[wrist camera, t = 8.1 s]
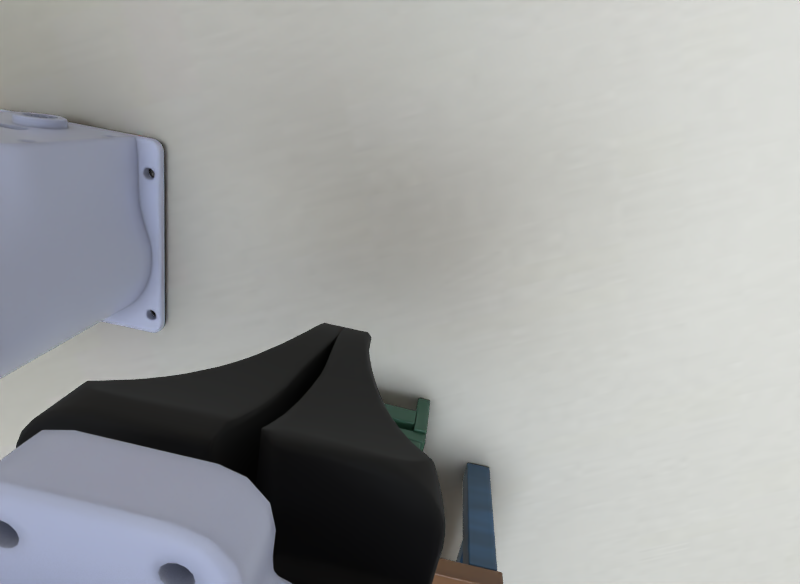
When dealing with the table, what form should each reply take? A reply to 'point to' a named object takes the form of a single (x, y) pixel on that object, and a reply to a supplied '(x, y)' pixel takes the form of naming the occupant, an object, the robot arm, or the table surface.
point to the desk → (474, 535)
